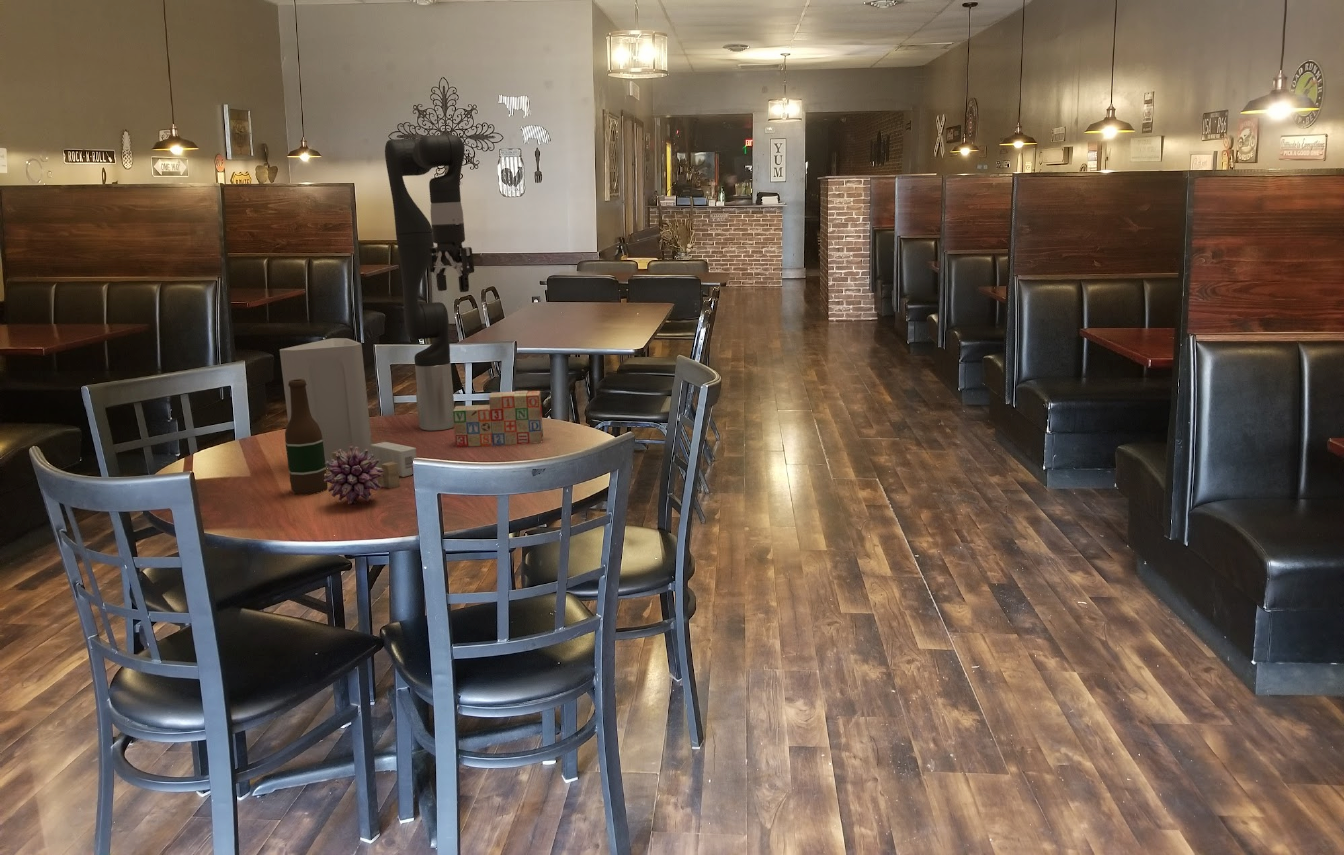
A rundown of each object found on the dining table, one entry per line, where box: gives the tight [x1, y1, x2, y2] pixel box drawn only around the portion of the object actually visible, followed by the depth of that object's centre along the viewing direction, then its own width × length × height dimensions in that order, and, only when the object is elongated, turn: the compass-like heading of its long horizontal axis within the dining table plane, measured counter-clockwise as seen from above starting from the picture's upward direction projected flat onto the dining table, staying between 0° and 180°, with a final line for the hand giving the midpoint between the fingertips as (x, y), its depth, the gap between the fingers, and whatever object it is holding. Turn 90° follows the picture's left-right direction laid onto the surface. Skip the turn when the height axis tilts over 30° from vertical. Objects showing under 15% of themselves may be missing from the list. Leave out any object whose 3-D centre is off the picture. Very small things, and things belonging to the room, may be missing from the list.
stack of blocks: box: [453, 390, 544, 448], centre depth 273 cm, size 21×6×12 cm, turn 93°
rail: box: [332, 451, 401, 489], centre depth 242 cm, size 22×2×5 cm, turn 48°
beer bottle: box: [284, 379, 329, 495], centre depth 233 cm, size 8×8×24 cm
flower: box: [324, 447, 383, 505], centre depth 223 cm, size 12×12×12 cm
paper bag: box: [279, 337, 373, 468], centre depth 258 cm, size 19×15×28 cm
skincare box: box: [371, 441, 418, 478], centre depth 248 cm, size 6×4×12 cm
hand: (453, 291), depth 263 cm, fingers open, 8 cm apart
